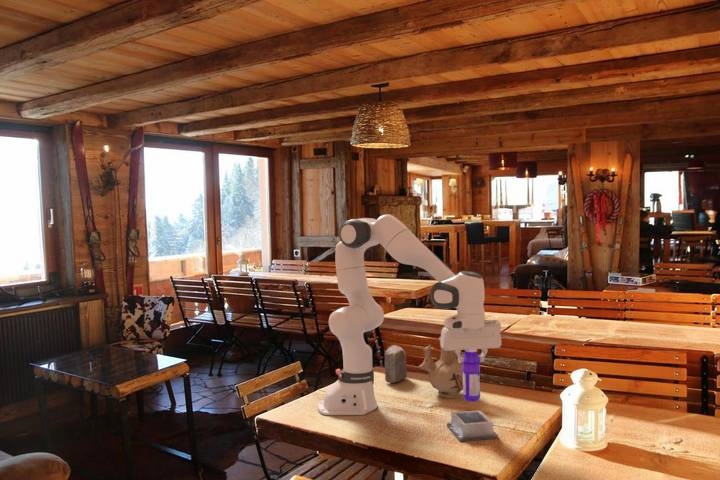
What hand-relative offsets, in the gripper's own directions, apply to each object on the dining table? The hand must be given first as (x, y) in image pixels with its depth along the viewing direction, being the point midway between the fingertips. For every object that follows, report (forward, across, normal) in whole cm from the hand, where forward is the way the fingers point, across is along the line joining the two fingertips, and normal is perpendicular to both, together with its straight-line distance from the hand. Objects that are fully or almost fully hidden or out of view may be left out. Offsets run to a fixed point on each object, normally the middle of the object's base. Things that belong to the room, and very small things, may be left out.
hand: (471, 362), depth 183 cm
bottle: (+12, 0, 0) cm, 13 cm away
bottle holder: (+24, 0, 0) cm, 24 cm away
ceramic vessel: (+24, -4, -38) cm, 45 cm away
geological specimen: (+24, +12, -60) cm, 66 cm away
